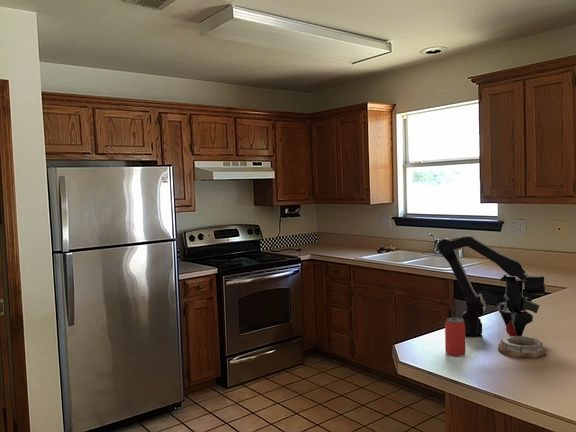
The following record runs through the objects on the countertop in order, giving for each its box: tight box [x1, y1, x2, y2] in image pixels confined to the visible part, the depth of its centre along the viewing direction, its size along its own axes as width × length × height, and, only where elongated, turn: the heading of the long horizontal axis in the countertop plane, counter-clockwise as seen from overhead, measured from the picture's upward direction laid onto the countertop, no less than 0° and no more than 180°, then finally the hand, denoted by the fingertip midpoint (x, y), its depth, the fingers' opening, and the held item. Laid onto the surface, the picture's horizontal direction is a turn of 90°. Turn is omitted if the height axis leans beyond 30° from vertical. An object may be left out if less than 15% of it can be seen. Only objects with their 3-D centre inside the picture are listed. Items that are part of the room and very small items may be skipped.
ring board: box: [497, 335, 547, 360], centre depth 169 cm, size 15×15×4 cm
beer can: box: [444, 317, 467, 357], centre depth 168 cm, size 7×7×12 cm
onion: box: [505, 320, 517, 336], centre depth 183 cm, size 6×6×8 cm
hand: (514, 334), depth 183 cm, fingers open, 9 cm apart
